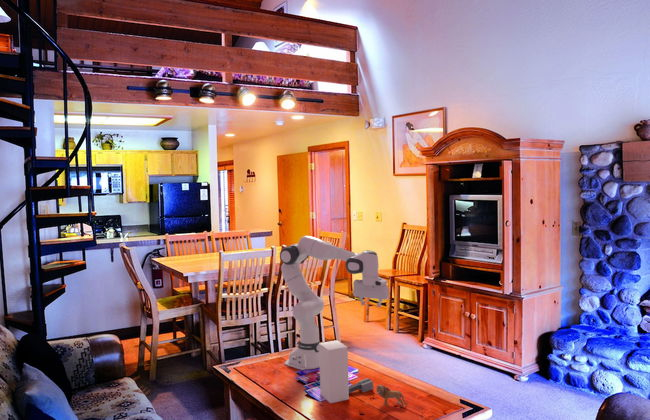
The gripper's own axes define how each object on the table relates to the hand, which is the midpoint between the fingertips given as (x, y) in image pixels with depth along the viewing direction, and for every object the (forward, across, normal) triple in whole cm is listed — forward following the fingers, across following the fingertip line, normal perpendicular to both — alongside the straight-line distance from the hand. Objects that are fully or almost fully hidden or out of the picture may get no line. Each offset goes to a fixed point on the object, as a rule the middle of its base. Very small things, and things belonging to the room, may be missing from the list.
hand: (371, 305), depth 270 cm
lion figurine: (+39, +22, -28) cm, 53 cm away
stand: (+39, -6, -32) cm, 51 cm away
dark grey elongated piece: (+36, +1, -23) cm, 42 cm away
